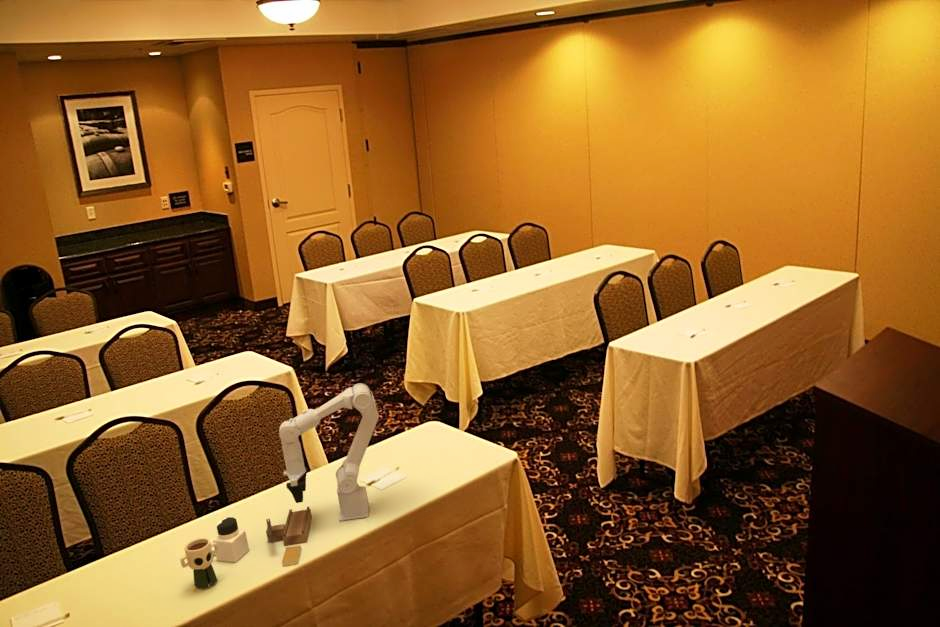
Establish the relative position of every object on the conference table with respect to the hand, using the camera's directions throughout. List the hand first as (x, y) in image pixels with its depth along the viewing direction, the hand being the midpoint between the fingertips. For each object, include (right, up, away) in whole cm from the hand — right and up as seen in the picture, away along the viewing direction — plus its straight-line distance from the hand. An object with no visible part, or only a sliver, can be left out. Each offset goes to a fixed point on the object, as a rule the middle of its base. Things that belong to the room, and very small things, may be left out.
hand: (300, 496), depth 251 cm
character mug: (-22, -20, -25) cm, 39 cm away
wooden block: (+1, -15, -17) cm, 23 cm away
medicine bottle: (-18, -16, -11) cm, 27 cm away
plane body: (-3, -11, -2) cm, 12 cm away
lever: (-7, -9, -10) cm, 16 cm away
